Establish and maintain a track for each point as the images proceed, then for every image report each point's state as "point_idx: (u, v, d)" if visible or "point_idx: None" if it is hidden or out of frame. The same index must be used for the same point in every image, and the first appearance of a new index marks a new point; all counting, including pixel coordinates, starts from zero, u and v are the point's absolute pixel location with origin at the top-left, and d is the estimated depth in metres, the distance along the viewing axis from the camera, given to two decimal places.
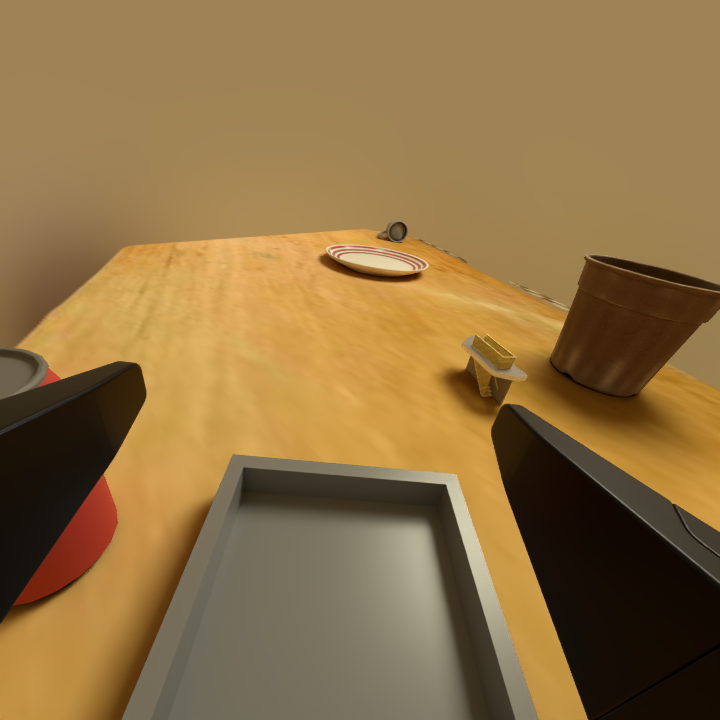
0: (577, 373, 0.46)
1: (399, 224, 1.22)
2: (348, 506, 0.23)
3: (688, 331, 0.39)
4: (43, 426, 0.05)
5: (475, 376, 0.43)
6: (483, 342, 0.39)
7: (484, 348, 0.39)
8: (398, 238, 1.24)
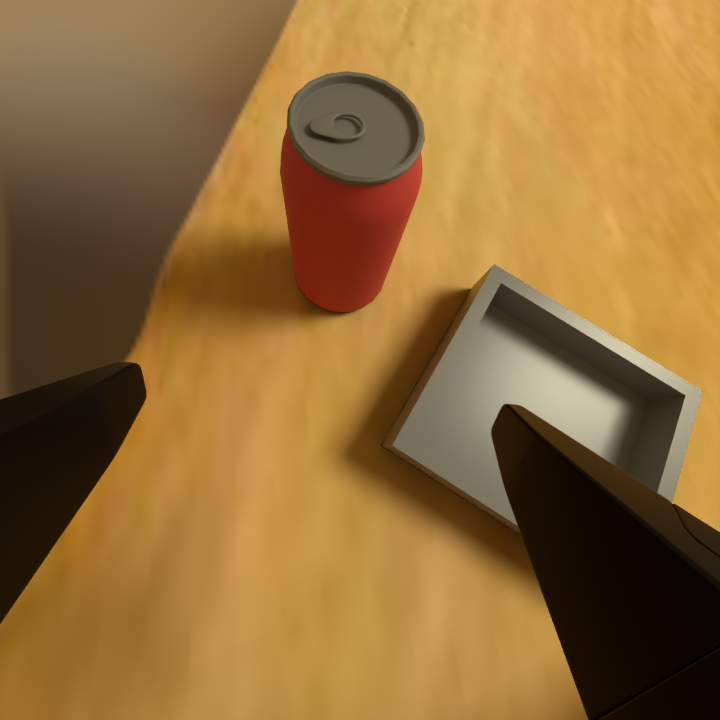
0: None
1: None
2: (566, 358, 0.24)
3: None
4: (43, 426, 0.05)
5: None
6: None
7: None
8: None
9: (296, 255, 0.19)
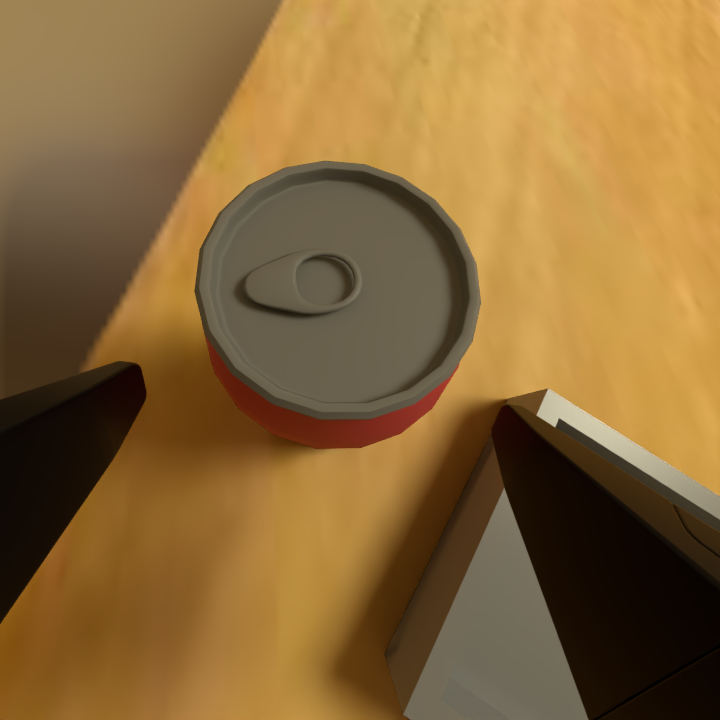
0: None
1: None
2: None
3: None
4: (43, 426, 0.05)
5: None
6: None
7: None
8: None
9: None
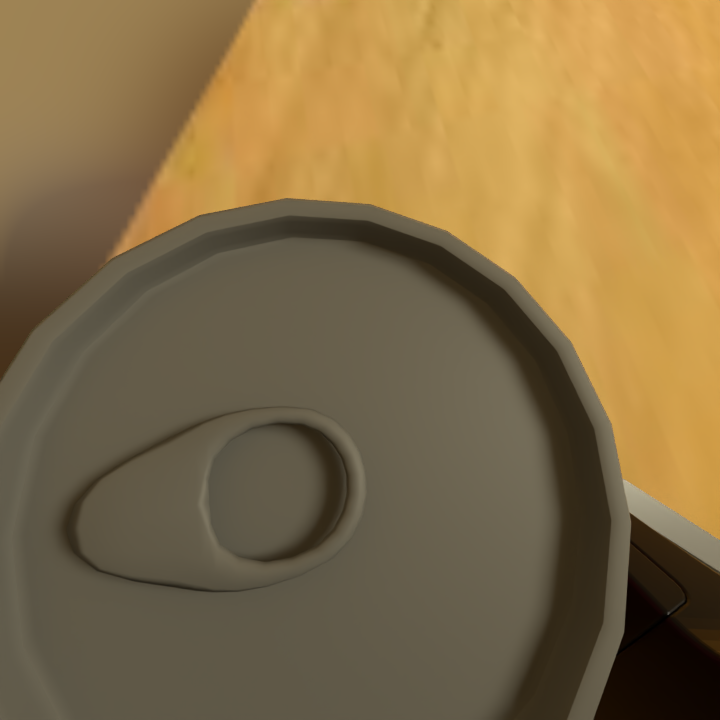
0: None
1: None
2: None
3: None
4: None
5: None
6: None
7: None
8: None
9: None
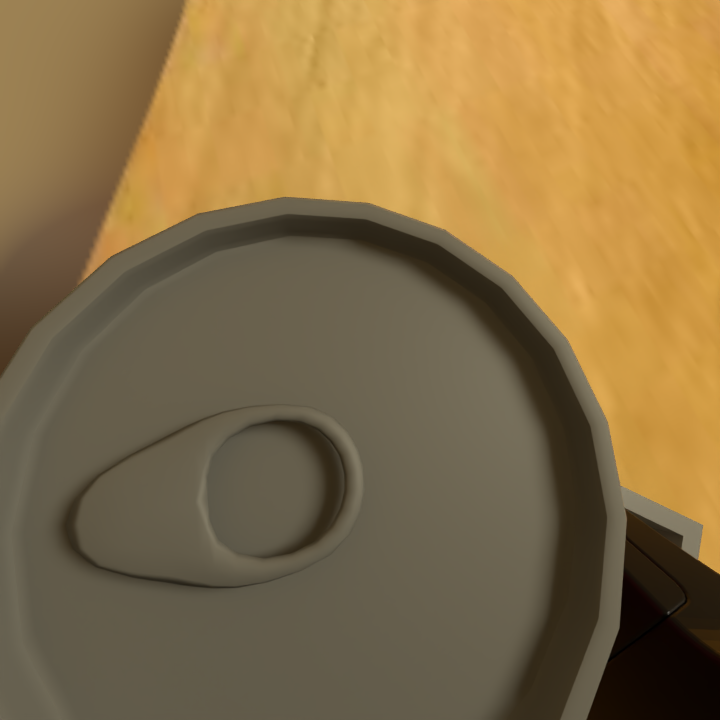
0: None
1: None
2: None
3: None
4: None
5: None
6: None
7: None
8: None
9: None
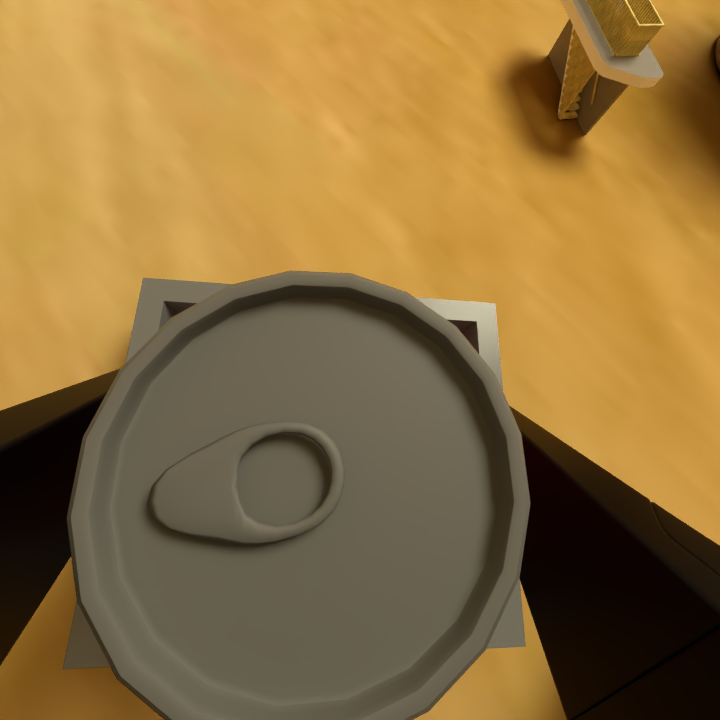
0: None
1: None
2: None
3: None
4: (68, 428, 0.05)
5: (560, 73, 0.25)
6: None
7: (605, 0, 0.20)
8: None
9: None
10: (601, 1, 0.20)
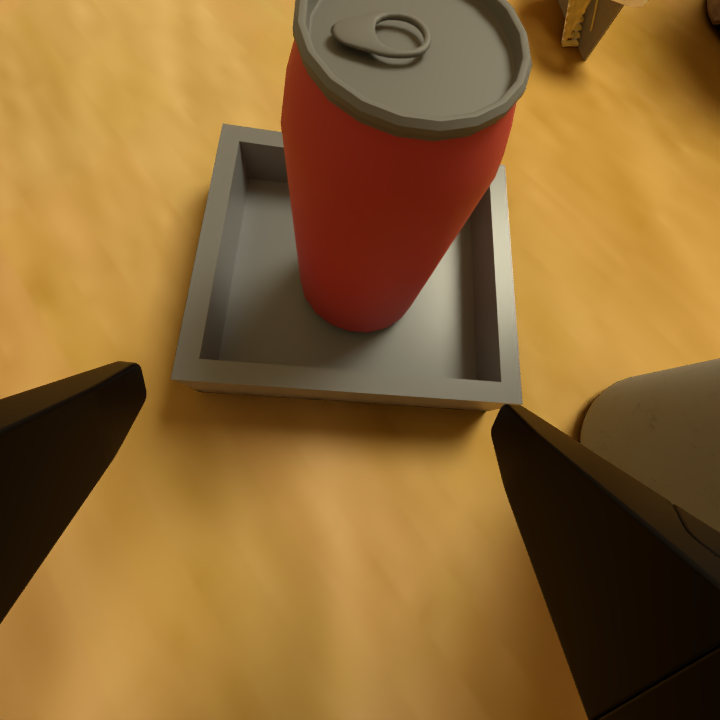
0: None
1: None
2: None
3: None
4: (43, 426, 0.05)
5: (565, 9, 0.29)
6: None
7: None
8: None
9: (302, 256, 0.13)
10: None
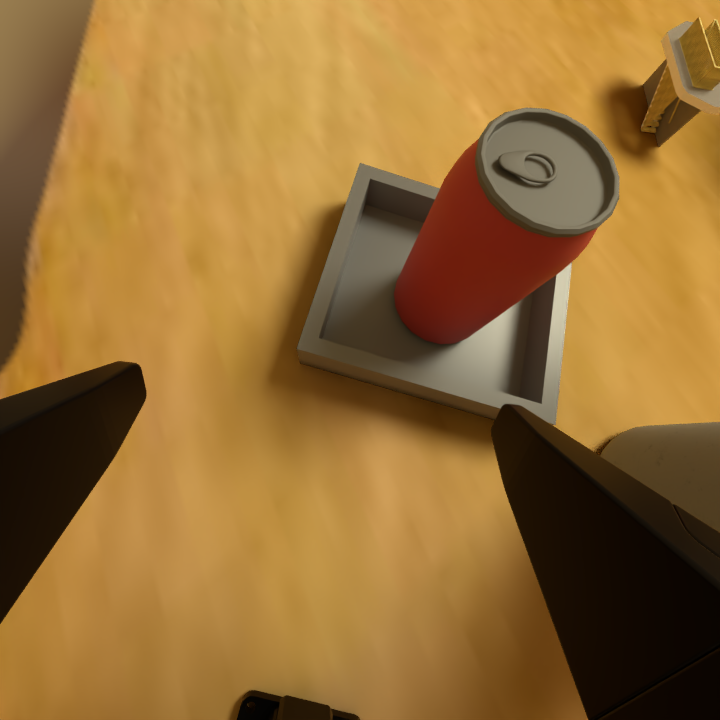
0: None
1: None
2: None
3: None
4: (43, 426, 0.05)
5: (649, 99, 0.33)
6: (701, 35, 0.27)
7: (695, 47, 0.27)
8: None
9: (414, 279, 0.18)
10: (692, 47, 0.27)
